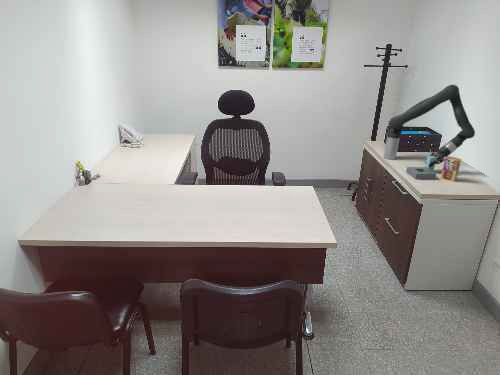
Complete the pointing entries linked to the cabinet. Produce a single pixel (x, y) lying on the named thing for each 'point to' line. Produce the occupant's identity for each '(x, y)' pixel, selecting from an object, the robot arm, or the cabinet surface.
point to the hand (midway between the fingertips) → (427, 165)
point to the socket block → (421, 173)
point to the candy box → (451, 168)
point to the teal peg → (430, 160)
